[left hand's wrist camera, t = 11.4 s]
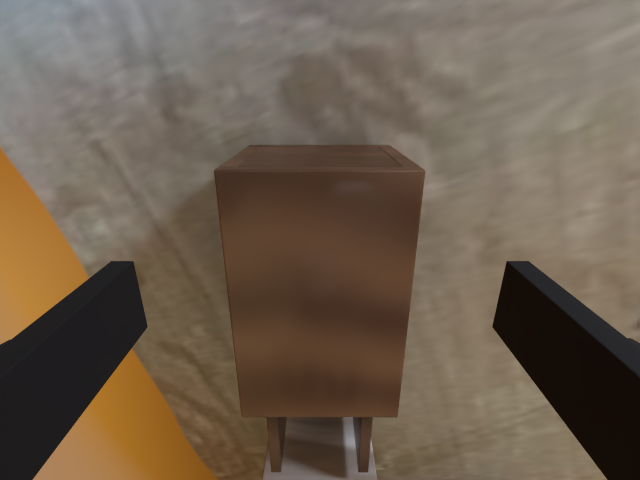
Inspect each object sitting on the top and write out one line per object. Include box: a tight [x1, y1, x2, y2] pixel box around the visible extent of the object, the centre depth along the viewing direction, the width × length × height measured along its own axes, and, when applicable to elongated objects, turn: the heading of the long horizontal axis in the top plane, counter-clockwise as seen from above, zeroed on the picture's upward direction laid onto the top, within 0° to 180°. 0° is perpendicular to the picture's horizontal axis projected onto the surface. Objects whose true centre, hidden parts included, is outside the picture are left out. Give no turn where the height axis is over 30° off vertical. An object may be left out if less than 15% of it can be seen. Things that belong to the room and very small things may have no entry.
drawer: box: [262, 417, 377, 480], centre depth 30 cm, size 21×9×8 cm, turn 0°
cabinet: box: [214, 145, 425, 417], centre depth 25 cm, size 17×10×10 cm, turn 0°
